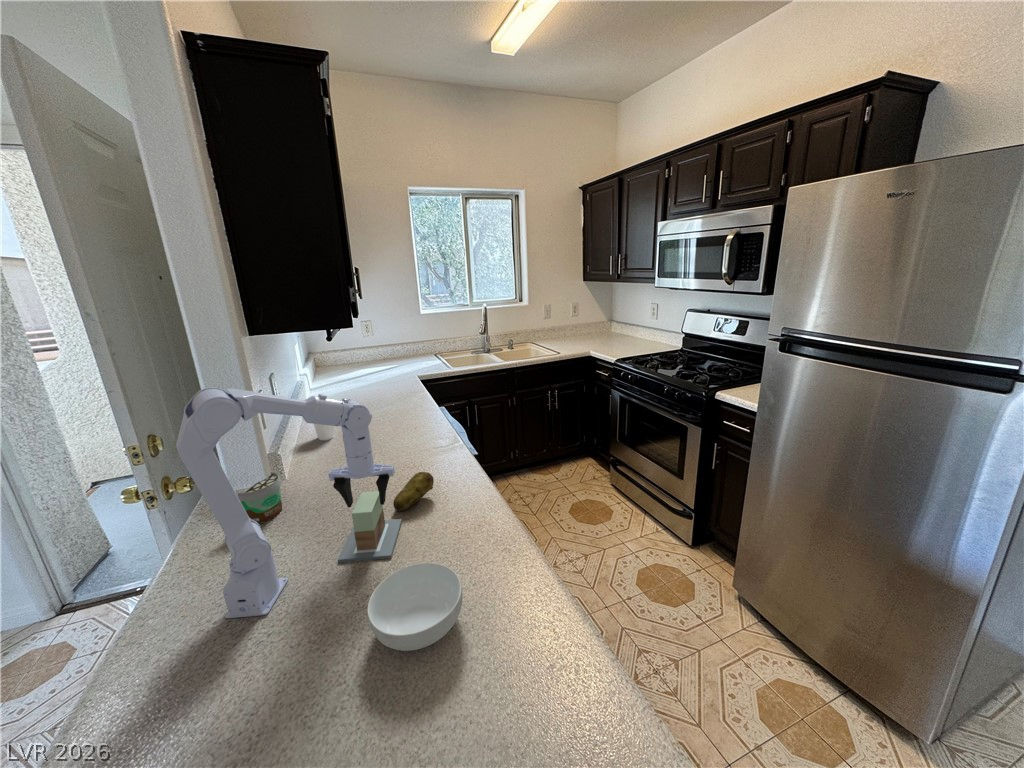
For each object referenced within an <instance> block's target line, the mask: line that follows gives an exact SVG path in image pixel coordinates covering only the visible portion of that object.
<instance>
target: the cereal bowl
mask: <svg viewBox="0 0 1024 768" xmlns="http://www.w3.org/2000/svg"><path fill="white" fill-rule="evenodd" d="M462 603H463V586H462V580H461V579H460V577H459V575H458V573H456V572H455V571H454V570H453V569H452V568H450V567H448V566H447V565H445V564H441V563H437V562H420V563H418V562H417V563H415V564H411V565H407V566H404V567H401V568H400V569H398V570H396V571H394V572H392V573H391V574H389V575H388V576H386V578H384V579H383V580H382V581H381V582H380V583H379V584H378V585H377V586H376V588H375V589H374V591H372V594H371V596H370V598H369V601H368V603H367V608H366V609H367V611H366V613H367V619H368V623H369V626H370V629H371V631H372V633H373V634H374V636H375V638H376V639H377V640H378V641H379V642H380V643H381V644H383V645H384V646H386V647H388V648H390V649H392V650H396V651H403V652H411V651H417V650H420V649H424V648H427V647H428V646H431V645H433V644H435V643H436V642H438V641H439V640H441V639H442V638H443V637H444V636H446V635H447V633H448V632H450V630H451V629H452V628H453V626H454V625H455V623H456V622H457V620H458V618H459V615H460V614H461V610H462V606H463V604H462Z"/></svg>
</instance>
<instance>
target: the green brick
mask: <svg viewBox="0 0 1024 768" xmlns="http://www.w3.org/2000/svg"><path fill="white" fill-rule="evenodd" d="M382 509H383V510H384V508H383V505H381V504H380V497H379V491H378V490H375V491H365V492H364V491H363V492H361V494H360V496H359V498H358V499H357V501H356V503H355V506H354V508H353V509H352V512H351V517H352V525H353V526H354V531H355V532H362V531H374V530H375V528H376V525H377V522H378V520H379V517H380V514H381V512H382Z"/></svg>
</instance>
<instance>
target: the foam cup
mask: <svg viewBox="0 0 1024 768" xmlns="http://www.w3.org/2000/svg"><path fill="white" fill-rule="evenodd" d="M313 427H314V429H315V433H316V435H317V438H318V440H319V441H329V440H332V439H335V437H336V426H330V425H321V424H313Z"/></svg>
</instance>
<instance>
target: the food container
mask: <svg viewBox="0 0 1024 768" xmlns="http://www.w3.org/2000/svg"><path fill="white" fill-rule="evenodd" d="M282 484H283V480H282V479H281V476H280V475H279V474H278V472H277V473H276V472H275V471H270V475H269V476H267V477H266V478H265V479H263V480H260V481H258V482H256V483H254V485H251V487H250V488H248V489H247V490H246V491H244V492H237V496H238V498H239V500H240V502H241V504H242V505H243V507H244V509H245V511H246V513H247V515H248V516H249V518H250V519H251V520H253V521H255V522H257V523H258V524H261V523H262V524H263V523H265V522H269V521H271V520H273V519H275V518H276V517H278V516H279V515H281V513H282V511H283V503H282V501H283V500H282V494H281V486H282ZM280 512H281V513H280ZM277 515H278V516H277ZM274 517H275V518H274Z"/></svg>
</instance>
